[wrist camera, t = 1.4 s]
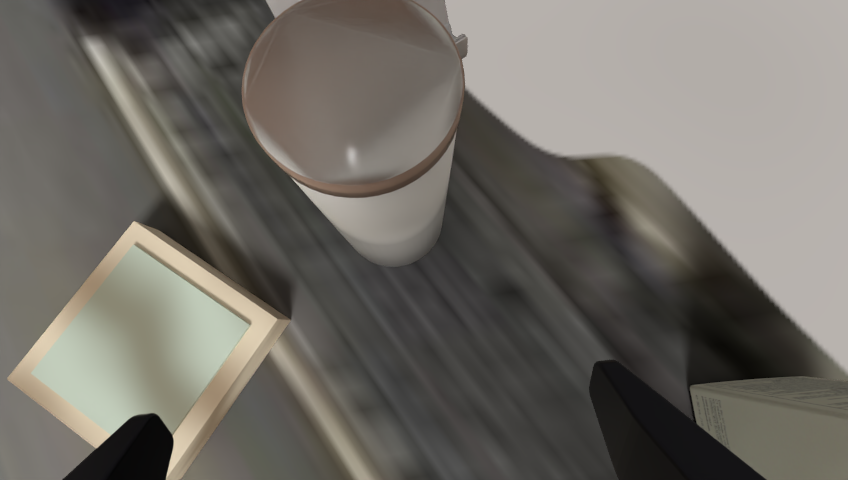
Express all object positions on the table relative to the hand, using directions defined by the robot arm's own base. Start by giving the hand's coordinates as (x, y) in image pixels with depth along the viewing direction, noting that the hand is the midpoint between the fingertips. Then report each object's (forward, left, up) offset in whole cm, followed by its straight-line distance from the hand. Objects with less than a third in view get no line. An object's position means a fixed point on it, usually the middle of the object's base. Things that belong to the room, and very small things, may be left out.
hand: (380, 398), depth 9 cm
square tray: (-6, +11, -13) cm, 18 cm away
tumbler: (+6, +5, -13) cm, 15 cm away
